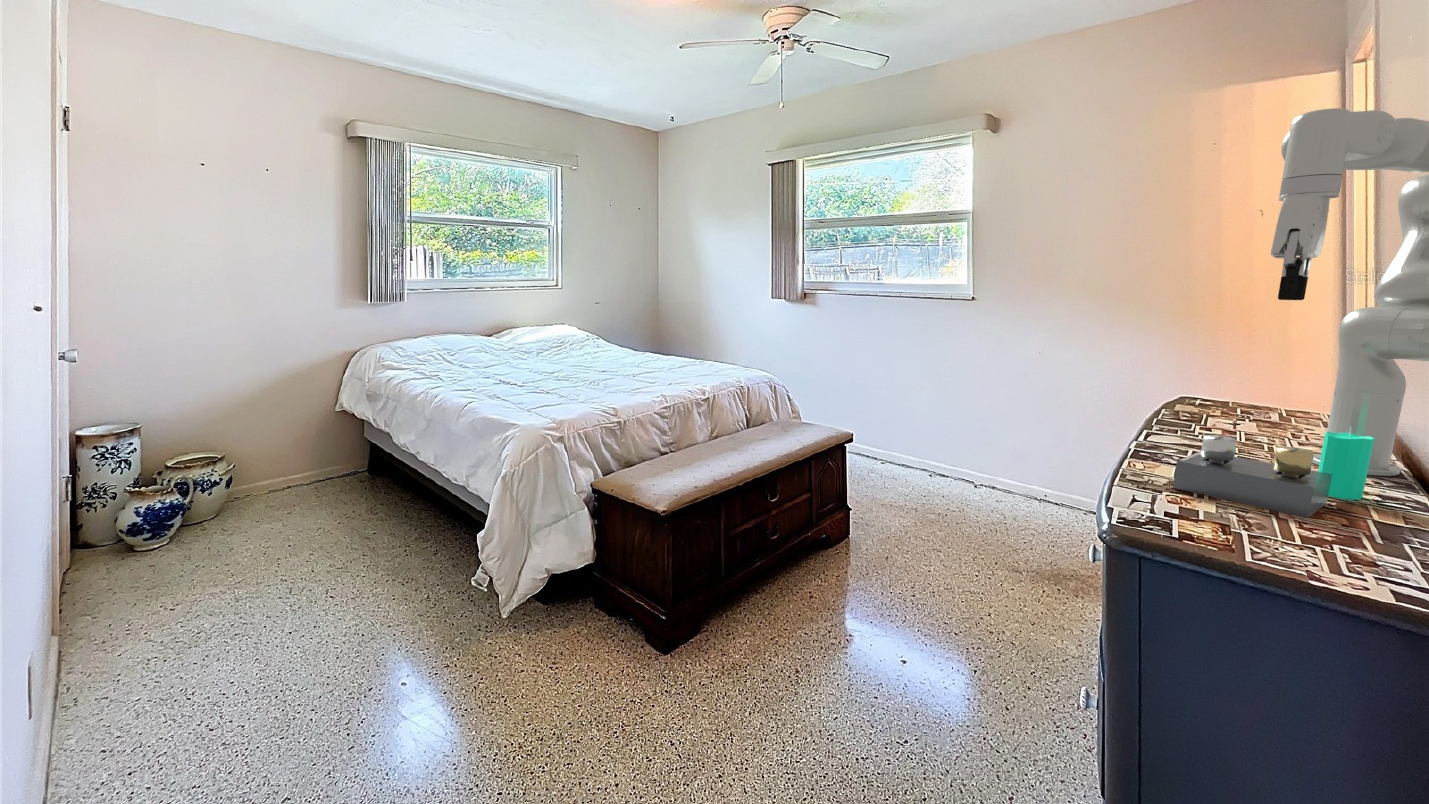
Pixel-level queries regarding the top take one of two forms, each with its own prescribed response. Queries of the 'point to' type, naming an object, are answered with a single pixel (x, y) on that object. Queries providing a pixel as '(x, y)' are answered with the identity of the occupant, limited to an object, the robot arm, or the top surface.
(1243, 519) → the top surface
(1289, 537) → the top surface
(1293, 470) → the knob
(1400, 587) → the top surface
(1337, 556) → the top surface
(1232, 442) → the knob
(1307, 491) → the mount
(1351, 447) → the candle
